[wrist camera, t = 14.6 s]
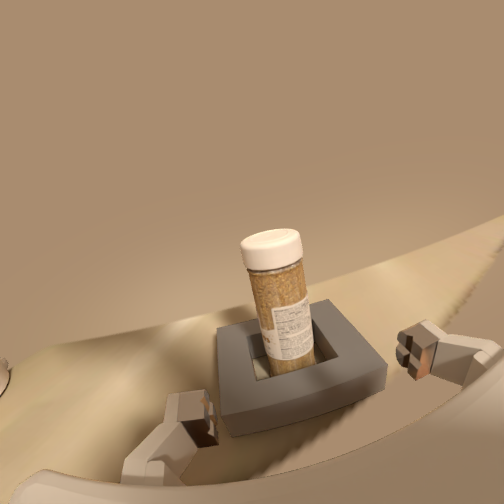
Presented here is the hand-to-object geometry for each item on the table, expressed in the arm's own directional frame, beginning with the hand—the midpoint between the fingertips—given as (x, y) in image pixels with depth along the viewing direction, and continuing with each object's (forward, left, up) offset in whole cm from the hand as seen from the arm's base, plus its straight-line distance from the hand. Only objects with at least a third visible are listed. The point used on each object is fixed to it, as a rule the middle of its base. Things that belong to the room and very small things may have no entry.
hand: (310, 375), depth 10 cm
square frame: (+1, +12, -10) cm, 16 cm away
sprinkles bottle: (+1, +12, -11) cm, 16 cm away
